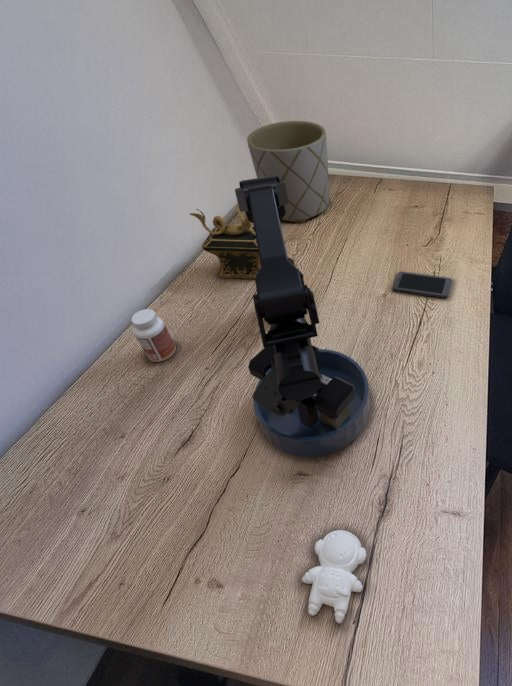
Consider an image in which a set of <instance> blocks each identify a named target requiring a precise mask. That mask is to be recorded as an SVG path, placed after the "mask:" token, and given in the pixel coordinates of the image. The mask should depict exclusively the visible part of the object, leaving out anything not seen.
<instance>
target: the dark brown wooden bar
mask: <svg viewBox="0 0 512 686" xmlns="http://www.w3.org/2000/svg"><path fill="white" fill-rule="evenodd" d="M297 408H298V412H299V416H300V421H301V423H302V424H303V425H305V426H307V427H309V428H310V429H311V428H312V427H313V426H314V425H315V424H316V423H317V421H318V420H319V417H318V412H317V410H316V412H315V413H314V414H313V415H312V414H310V412H309V409H308V407H307V406H306V405H304V404H302V403H300V404H299V405H298V407H297Z"/></svg>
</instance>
